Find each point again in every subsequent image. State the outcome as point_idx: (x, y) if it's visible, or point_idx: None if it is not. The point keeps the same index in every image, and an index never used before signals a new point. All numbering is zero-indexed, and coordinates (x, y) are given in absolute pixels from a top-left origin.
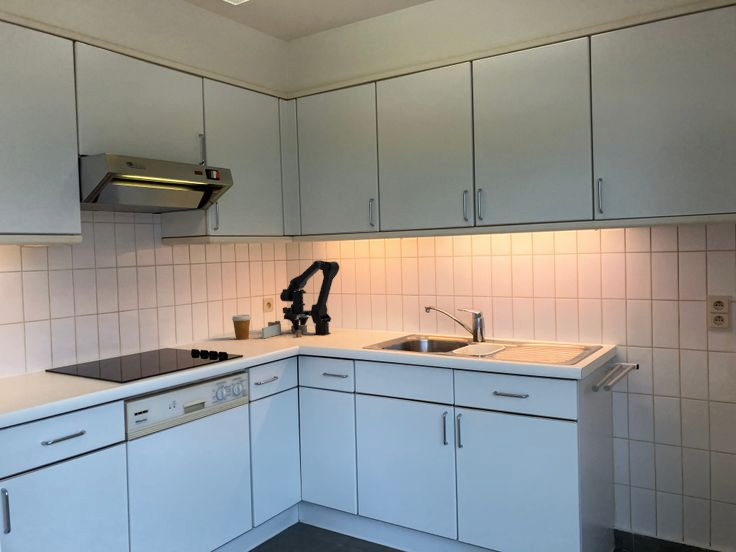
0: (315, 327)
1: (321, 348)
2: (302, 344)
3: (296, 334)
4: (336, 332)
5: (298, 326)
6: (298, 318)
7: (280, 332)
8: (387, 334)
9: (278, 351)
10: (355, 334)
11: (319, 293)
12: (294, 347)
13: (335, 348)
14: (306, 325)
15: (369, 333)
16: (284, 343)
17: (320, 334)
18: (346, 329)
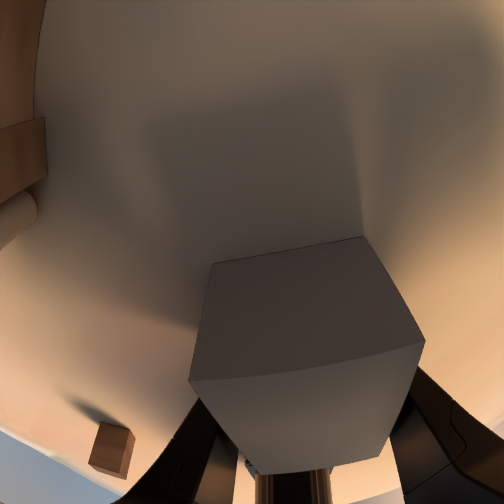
0: (271, 501)
1: (95, 482)
2: (70, 459)
3: (97, 441)
4: (385, 456)
5: (247, 451)
6: (494, 492)
7: (10, 234)
8: (356, 499)
9: (4, 431)
10: (338, 490)
11: None
12: (40, 449)
13: (121, 493)
14: (372, 453)
15: (369, 489)
16: (18, 420)
17: (252, 475)
18: (485, 416)
